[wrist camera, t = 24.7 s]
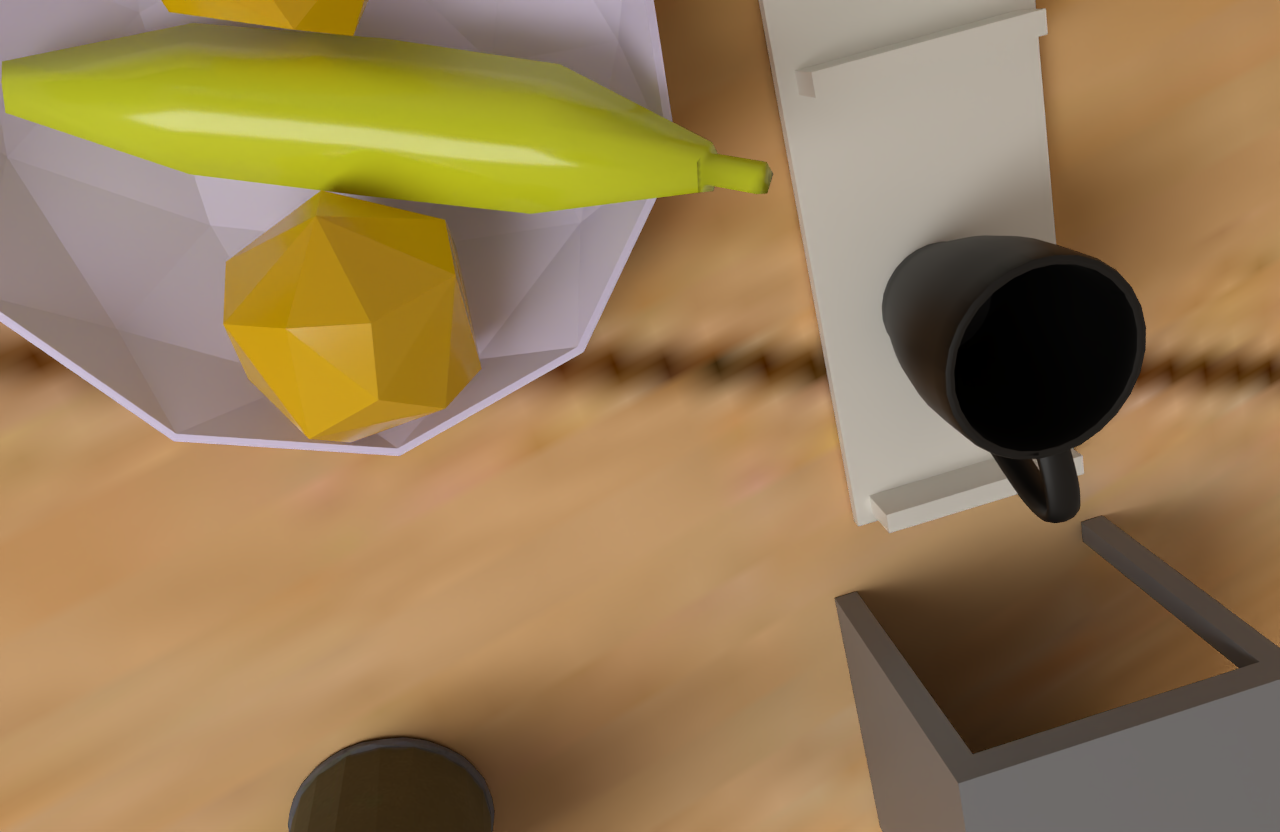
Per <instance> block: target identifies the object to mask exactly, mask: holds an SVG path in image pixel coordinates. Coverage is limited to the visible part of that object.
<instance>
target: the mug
mask: <svg viewBox="0 0 1280 832" xmlns="http://www.w3.org/2000/svg"><path fill="white" fill-rule="evenodd" d="M882 317H883V323H884V326H885V329H886V332H887V333H888V335H889V337H890V340H891V343H892V346H893V349H894V352H895V354H896V357H897V359H898V361H899V363H900V365H901V367H902V369H903V371H904V372H905V374H906V375H907V377H908V378H909V380H910V381H911V383H912V385H913V386H914V388H915V389H916V391H917V392H918V394H919V395H920V396H921V397H922V399H923V400H924V401H925V402H926V403H927V405H928V406H929V407H930V408H932V409H933V410H934V411H935V412H936V413H937V414H938V415H939V416H940V417H941V418H943V419H944V420H945V421H946V422H947V423H949V424H950V425H951V426H952V427H953V428H955V429H956V430H957V431H958V432H960V433H961V434H962V435H963V436H965V437H966V438H967V439H968V440H970V441H971V442H972V443H974V444H975V445H976V446H978V447H980V448H982V449H984V450H986V451H988V452H990V453H991V454H992V456H993V458H994V459H995V461H996V462H997V464H998V465H999V467H1000V468H1001V470H1002V472H1003V473H1004V475H1005V476H1006V478H1007V479H1008V481H1009V482H1010V484H1011V485H1012V486H1013V488H1014V489H1015V491H1016V492H1017V493H1018V495H1019V496H1020V498H1021V499H1022V500H1023V501H1024V503H1025V504H1026V505H1027V506H1028V507H1029V508H1030V509H1031V510H1032V512H1033V513H1035V514H1036V515H1037V516H1038V517H1039V518H1040V519H1042V520H1043V521H1046V522H1052V523H1059V522H1065V521H1067V520H1069V519H1071V518H1073V517H1074V516H1075V515H1076V514H1077V512H1078V511H1079V509H1080V488H1079V482H1078V477H1077V472H1076V468H1075V463H1074V460H1073V456H1072V452H1071V449H1072V448H1074V447H1076V446H1078V445H1080V444H1082V443H1083V442H1085V441H1086V440H1088V439H1089V438H1090V437H1092V436H1093V435H1095V434H1096V433H1098V432H1099V431H1100V430H1101V429H1102V428H1103V427H1104V426H1105V425H1106V424H1107V423H1108V422H1109V421H1110V420H1111V419H1112V418H1113V417H1114V416H1115V415H1116V414H1117V413H1118V411H1119V410H1120V408H1121V407H1122V406H1123V404H1124V403H1125V401H1126V400H1127V398H1128V397H1129V395H1130V394H1131V392H1132V389H1133V387H1134V385H1135V383H1136V380H1137V378H1138V376H1139V374H1140V371H1141V367H1142V362H1143V358H1144V353H1145V343H1146V326H1145V321H1144V317H1143V312H1142V308H1141V305H1140V303H1139V301H1138V299H1137V297H1136V295H1135V293H1134V291H1133V289H1132V287H1131V286H1130V285H1129V284H1128V282H1127V281H1126V280H1125V279H1124V278H1123V277H1122V276H1121V275H1120V274H1119V273H1118V272H1117V270H1115V269H1114V268H1112V267H1110V266H1109V265H1107V264H1106V263H1104V262H1102V261H1101V260H1099V259H1097V258H1094V257H1091V256H1088V255H1086V254H1083V253H1080V252H1077V251H1074V250H1071V249H1068V248H1065V247H1062V246H1059V245H1056V244H1052V243H1049V242H1045V241H1042V240H1038V239H1035V238H1028V237H1021V236H990V235H983V236H972V237H966V238H961V239H956V240H952V241H947V242H945V241H942V242H937V243H932V244H928V245H926V246H924V247H922V248H920V249H917V250H916V251H914V252H913V253H912V254H910V255H909V256H907V257H906V258H905V259H904V260H903V261H902V262H901V263H900V264H899V265H898V267H897V268H896V269H895V270H894V272H893V274H892V275H891V277H890V279H889V280H888V283H887V285H886V288H885V291H884V294H883V301H882ZM1032 459H1036V460H1037V463H1038V466H1039V469H1038V467H1037V466H1036V464H1035V463H1034V461H1033V460H1032Z"/></svg>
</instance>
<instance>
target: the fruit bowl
mask: <svg viewBox="0 0 1280 832" xmlns="http://www.w3.org/2000/svg"><path fill="white" fill-rule="evenodd" d="M772 176H773V173H772V171H771V169H770V167H769V166H768V164H767V162H763V161H757V160H751V159H745V158H739V157H733V156H727V155H721V154H718V153H717V151H716V149H715V147H714V145H713V143H712V142H710V141H708V140H706V139H704V138H703V137H701V136H699V135H697V134H695V133H693V132H691V131H689V130H687V129H685V128H683V127H681V126H679V125H677V124H675V123H673V121H672V115H671V108H670V102H669V95H668V89H667V83H666V76H665V70H664V63H663V57H662V50H661V44H660V38H659V31H658V25H657V18H656V12H655V5H654V0H0V322H2V323H3V324H5V325H6V326H8V327H9V328H11V329H12V330H13V331H15V332H16V333H18V334H19V335H21V336H22V337H24V338H25V339H27V340H28V341H29V342H31V343H32V344H34V345H35V346H37V347H38V348H40V349H41V350H42V351H44V352H45V353H47V354H48V355H50V356H51V357H53V358H54V359H55V360H57V361H58V362H60V363H61V364H63V365H64V366H66V367H67V368H69V369H70V370H71V371H73V372H74V373H76V374H77V375H79V376H80V377H82V378H83V379H84V380H86V381H87V382H89V383H90V384H92V385H93V386H95V387H96V388H97V389H99V390H100V391H102V392H103V393H105V394H106V395H108V396H109V397H111V398H112V399H113V400H115V401H116V402H118V403H119V404H121V405H122V406H124V407H125V408H126V409H128V410H129V411H131V412H132V413H134V414H135V415H137V416H138V417H139V418H141V419H142V420H144V421H145V422H147V423H148V424H150V425H151V426H153V427H154V428H155V429H157V430H158V431H160V432H161V433H163V434H164V435H166V436H167V437H168V438H170V439H171V440H173V441H179V442H194V443H209V444H225V445H240V446H255V447H271V448H286V449H301V450H317V451H332V452H347V453H363V454H378V455H393V456H400V455H402V454H404V453H406V452H407V451H409V450H411V449H413V448H414V447H416V446H418V445H420V444H422V443H423V442H425V441H427V440H429V439H430V438H432V437H434V436H436V435H437V434H439V433H441V432H443V431H445V430H446V429H448V428H450V427H452V426H453V425H455V424H457V423H459V422H460V421H462V420H464V419H466V418H468V417H469V416H471V415H473V414H475V413H476V412H478V411H480V410H482V409H484V408H485V407H487V406H489V405H491V404H492V403H494V402H496V401H498V400H499V399H501V398H503V397H505V396H507V395H508V394H510V393H512V392H514V391H515V390H517V389H519V388H521V387H522V386H524V385H526V384H528V383H530V382H531V381H533V380H535V379H537V378H538V377H540V376H542V375H544V374H545V373H547V372H549V371H551V370H553V369H554V368H556V367H558V366H560V365H561V364H563V363H565V362H567V361H568V360H570V359H572V358H574V357H576V356H577V355H579V354H581V353H583V352H584V350H585V348H586V346H587V344H588V342H589V340H590V337H591V335H592V333H593V331H594V329H595V327H596V325H597V323H598V321H599V319H600V316H601V314H602V312H603V310H604V308H605V306H606V304H607V302H608V300H609V297H610V295H611V293H612V291H613V289H614V287H615V285H616V283H617V281H618V279H619V276H620V274H621V272H622V270H623V268H624V266H625V264H626V262H627V260H628V258H629V255H630V253H631V251H632V249H633V247H634V245H635V243H636V241H637V239H638V236H639V234H640V232H641V230H642V228H643V226H644V224H645V222H646V220H647V218H648V215H649V213H650V211H651V209H652V207H653V205H654V203H655V201H656V199H657V198H659V197H667V196H675V195H683V194H691V193H699V192H709V191H713V190H714V186H716V187H721V188H727V189H732V190H738V191H743V192H748V193H754V194H764V193H767V192H768V189H769V186H770V182H771V179H772Z"/></svg>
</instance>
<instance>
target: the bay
mask: <svg viewBox="0 0 1280 832" xmlns="http://www.w3.org/2000/svg"><path fill="white" fill-rule="evenodd" d="M1081 526H1082V538H1083V542H1084V543H1085V544H1087V545H1088V546H1089V547H1090V548H1092V549H1093V550H1094V551H1095V552H1097V553H1098V554H1099V555H1100V556H1102V557H1103V558H1104V559H1105V560H1106V561H1108V562H1109V563H1110V564H1111V565H1113V566H1114V567H1115V568H1116V569H1118V570H1119V571H1120V572H1121V573H1122V574H1124V575H1125V576H1126V577H1127V578H1129V579H1130V580H1131V581H1132V582H1134V583H1135V584H1136V585H1137V586H1139V587H1140V588H1141V589H1142V590H1143V591H1145V592H1146V593H1147V594H1148V595H1150V596H1151V597H1152V598H1153V599H1155V600H1156V601H1157V602H1158V603H1159V604H1161V605H1162V606H1163V607H1164V608H1166V609H1167V610H1168V611H1169V612H1171V613H1172V614H1173V615H1174V616H1176V617H1177V618H1178V619H1179V620H1180V621H1182V622H1183V623H1184V624H1185V625H1187V626H1188V627H1189V628H1190V629H1192V630H1193V631H1194V632H1195V633H1197V634H1198V635H1199V636H1200V637H1201V638H1203V639H1204V640H1205V641H1206V642H1208V643H1209V644H1210V645H1211V646H1213V647H1214V648H1215V649H1216V650H1217V651H1219V652H1220V653H1221V654H1222V655H1224V656H1225V657H1226V658H1227V659H1229V660H1230V661H1231V662H1232V663H1234V664H1235V665H1236V666H1237V667H1238V668H1239V669H1236V670H1233V671H1230V672H1227V673H1223V674H1220V675H1217V676H1214V677H1211V678H1208V679H1205V680H1202V681H1199V682H1195V683H1192V684H1189V685H1186V686H1183V687H1180V688H1177V689H1174V690H1171V691H1168V692H1164V693H1161V694H1158V695H1155V696H1152V697H1149V698H1146V699H1143V700H1140V701H1137V702H1133V703H1130V704H1127V705H1124V706H1121V707H1118V708H1115V709H1112V710H1109V711H1105V712H1102V713H1099V714H1096V715H1093V716H1090V717H1087V718H1084V719H1081V720H1078V721H1074V722H1071V723H1068V724H1065V725H1062V726H1059V727H1056V728H1053V729H1050V730H1047V731H1043V732H1040V733H1037V734H1034V735H1031V736H1028V737H1025V738H1022V739H1019V740H1015V741H1012V742H1009V743H1006V744H1003V745H1000V746H997V747H994V748H991V749H988V750H984V751H981V752H978V753H975V754H972V753H971V751H970V750H969V748H968V747H967V746H966V744H965V743H964V741H963V740H962V739H961V737H960V736H959V734H958V733H957V732H956V730H955V729H954V727H953V726H952V725H951V723H950V722H949V720H948V719H947V718H946V716H945V715H944V713H943V712H942V711H941V709H940V708H939V706H938V705H937V704H936V702H935V701H934V699H933V698H932V697H931V695H930V694H929V692H928V691H927V690H926V688H925V687H924V685H923V684H922V683H921V681H920V680H919V678H918V677H917V676H916V674H915V673H914V671H913V670H912V669H911V667H910V666H909V664H908V663H907V662H906V660H905V659H904V657H903V656H902V655H901V653H900V652H899V650H898V649H897V648H896V646H895V645H894V643H893V642H892V641H891V639H890V638H889V636H888V635H887V634H886V632H885V631H884V629H883V628H882V627H881V625H880V624H879V622H878V621H877V620H876V618H875V617H874V615H873V614H872V613H871V611H870V610H869V608H868V607H867V606H866V604H865V603H864V601H863V600H862V599H861V597H860V596H859V594H858V593H857V592H853V593H850V594H847V595H843V596H840V597H837V598H835V602H836V607H837V612H838V617H839V622H840V627H841V632H842V637H843V642H844V648H845V653H846V658H847V663H848V668H849V673H850V678H851V683H852V688H853V693H854V698H855V703H856V708H857V713H858V718H859V723H860V728H861V733H862V738H863V743H864V748H865V753H866V758H867V763H868V768H869V773H870V778H871V783H872V788H873V793H874V799H875V804H876V809H877V814H878V819H879V824H880V827H881V829H882V831H883V832H1280V648H1279V647H1278V646H1276V645H1275V644H1274V643H1272V642H1271V641H1270V640H1268V639H1267V638H1266V637H1264V636H1263V635H1262V634H1260V633H1259V632H1258V631H1256V630H1255V629H1254V628H1252V627H1251V626H1250V625H1248V624H1247V623H1246V622H1244V621H1243V620H1242V619H1240V618H1239V617H1237V616H1236V615H1235V614H1233V613H1232V612H1231V611H1229V610H1228V609H1227V608H1225V607H1224V606H1223V605H1221V604H1220V603H1219V602H1217V601H1216V600H1215V599H1213V598H1212V597H1211V596H1209V595H1208V594H1207V593H1205V592H1204V591H1203V590H1201V589H1200V588H1199V587H1197V586H1196V585H1195V584H1193V583H1192V582H1191V581H1189V580H1188V579H1187V578H1185V577H1184V576H1183V575H1181V574H1180V573H1178V572H1177V571H1176V570H1174V569H1173V568H1172V567H1170V566H1169V565H1168V564H1166V563H1165V562H1164V561H1162V560H1161V559H1160V558H1158V557H1157V556H1156V555H1154V554H1153V553H1152V552H1150V551H1149V550H1148V549H1146V548H1145V547H1144V546H1142V545H1141V544H1140V543H1138V542H1137V541H1136V540H1134V539H1133V538H1132V537H1130V536H1129V535H1128V534H1126V533H1125V532H1124V531H1122V530H1121V529H1120V528H1118V527H1117V526H1115V525H1114V524H1113V523H1111V522H1110V521H1109V520H1107V519H1106V518H1105V517H1103V516H1099V517H1096V518H1093V519H1090V520H1086V521H1083V522H1081Z"/></svg>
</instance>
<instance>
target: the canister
mask: <svg viewBox="0 0 1280 832" xmlns="http://www.w3.org/2000/svg"><path fill="white" fill-rule="evenodd" d="M493 823H494V807H493V801H492V797H491V794H490V792H489V789H488V787H487V785H486V782H485V780H484V778H483V777H482V776H481V775H480V773H479V772H478V771H477V770H476V769H475V768H474V766H473V765H472V764H471V763H469V762H468V761H467V760H466V759H465V758H464V757H463V756H461V755H459V754H457V753H456V752H454V751H452V750H450V749H448V748H446V747H443V746H440V745H438V744H435V743H432V742H429V741H426V740H420V739H412V738H404V737H402V738H390V739H381V740H375V741H368V742H362V743H359V744H356V745H354V746H351V747H349V748H346V749H344V750H341V751H339V752H338V753H336V754H334V755H333V756H331V757H329V758H328V759H327V760H325V761H324V762H323V763H321V764H320V765H319V766H318V767H316V768H315V769H314V771H313V772H312V773H311V774H310V775H309V776H308V777H307V778H306V780H305V781H304V782H303V783H302V784H301V786H300V788H299V789H298V791H297V793H296V795H295V797H294V799H293V802H292V806H291V809H290V814H289V821H288V828H289V832H492V831H493Z"/></svg>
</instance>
